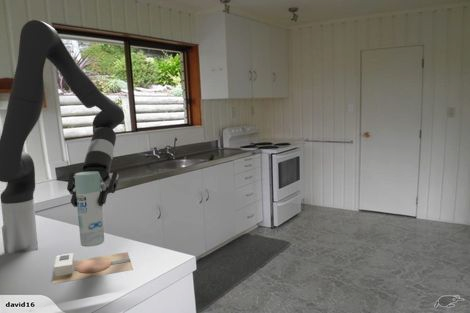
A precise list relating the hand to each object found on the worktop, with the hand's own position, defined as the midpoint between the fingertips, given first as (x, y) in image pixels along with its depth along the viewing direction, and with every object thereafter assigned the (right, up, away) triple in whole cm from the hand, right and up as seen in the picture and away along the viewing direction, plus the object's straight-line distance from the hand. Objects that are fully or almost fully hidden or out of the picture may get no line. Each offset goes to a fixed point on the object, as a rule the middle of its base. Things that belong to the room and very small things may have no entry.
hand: (87, 205), depth 98 cm
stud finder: (-7, -18, +3) cm, 20 cm away
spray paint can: (0, -11, +3) cm, 12 cm away
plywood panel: (0, -20, +4) cm, 20 cm away
